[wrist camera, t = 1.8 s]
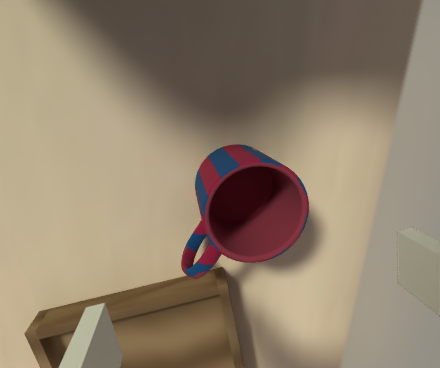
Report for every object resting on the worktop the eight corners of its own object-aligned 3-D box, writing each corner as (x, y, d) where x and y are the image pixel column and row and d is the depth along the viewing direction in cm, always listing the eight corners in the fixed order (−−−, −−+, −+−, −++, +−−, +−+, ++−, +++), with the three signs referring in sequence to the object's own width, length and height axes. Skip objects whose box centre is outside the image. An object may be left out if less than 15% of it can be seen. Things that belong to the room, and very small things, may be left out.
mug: (289, 185, 25) (329, 213, 18) (203, 260, 26) (213, 314, 19) (239, 126, 23) (264, 135, 16) (148, 210, 24) (138, 251, 17)
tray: (39, 311, 24) (24, 333, 22) (222, 267, 26) (227, 283, 24) (92, 433, 29) (85, 463, 26) (247, 390, 30) (253, 414, 28)
